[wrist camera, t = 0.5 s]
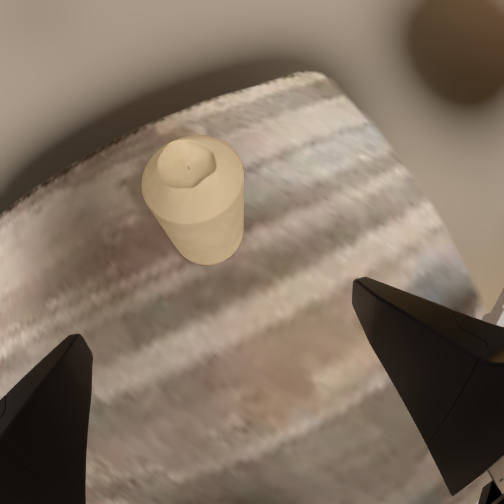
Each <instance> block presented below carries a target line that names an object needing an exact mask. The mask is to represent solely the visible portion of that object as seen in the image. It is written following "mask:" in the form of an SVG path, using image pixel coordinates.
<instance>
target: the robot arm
mask: <svg viewBox="0 0 504 504" xmlns="http://www.w3.org/2000/svg"><path fill="white" fill-rule="evenodd" d="M352 304H353V308H354V310H355V312H356V314H357V316H358V319H359V321H360V323H361V325H362V327H363V330H364V332H365V334H366V336H367V338H368V340H369V343H370V344H371V346H372V348H373V350H374V351H375V353H376V355H377V357H378V358H379V360H380V362H381V363H382V365H383V367H384V368H385V370H386V372H387V374H388V375H389V377H390V379H391V381H392V382H393V384H394V386H395V388H396V389H397V391H398V393H399V395H400V397H401V398H402V400H403V402H404V404H405V406H406V407H407V409H408V411H409V413H410V415H411V416H412V418H413V420H414V422H415V424H416V426H417V428H418V430H419V431H420V433H421V435H422V437H423V439H424V441H425V443H426V445H427V447H428V449H429V451H430V453H431V455H432V457H433V459H434V461H435V463H436V465H437V467H438V469H439V471H440V473H441V475H442V477H443V479H444V481H445V483H446V485H447V487H448V489H449V492H450V493H451V495H452V496H454V495H456V494H457V493H459V492H460V491H462V490H463V489H465V488H466V487H467V486H469V485H470V484H472V483H473V482H474V481H476V480H477V479H478V478H480V477H481V476H482V475H484V474H485V473H486V472H488V473H489V474H490V476H491V478H492V479H493V480H492V481H491V482H490V483H488V484H487V485H486V486H485V487H483V489H482V493H481V496H480V500H479V503H478V504H504V327H501V326H498V325H495V324H492V323H488V322H485V321H482V320H479V319H476V318H473V317H470V316H468V315H465V314H462V313H460V312H457V311H455V310H454V311H453V310H452V309H449V308H447V307H444V306H442V305H439V304H437V303H434V302H431V301H429V300H426V299H423V298H421V297H418V296H416V295H413V294H410V293H408V292H405V291H402V290H400V289H397V288H394V287H392V286H389V285H387V284H384V283H381V282H379V281H376V280H373V279H370V278H368V277H362V278H358V279H355V280H354V281H353V291H352ZM92 362H93V356H92V352H91V350H90V349H89V347H88V345H87V343H86V342H85V340H84V338H83V337H82V335H80V334H72V335H69V336H68V337H67V338H65V339H64V340H63V341H62V342H61V343H60V344H59V345H58V346H57V347H55V348H54V349H53V350H52V351H51V352H50V353H49V354H48V355H47V356H46V357H45V358H43V359H42V360H41V361H40V362H39V363H38V364H37V365H36V366H35V367H34V368H33V369H32V370H31V371H30V372H29V373H28V374H26V375H25V376H24V377H23V378H22V379H21V380H20V381H19V382H18V383H17V384H16V385H15V386H14V387H13V388H12V389H11V390H10V391H9V392H8V393H7V394H6V395H5V396H4V397H3V398H2V399H1V400H0V504H86V495H85V480H86V450H87V435H88V423H89V412H90V403H91V389H92Z"/></svg>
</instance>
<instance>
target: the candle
mask: <svg viewBox="0 0 504 504" xmlns="http://www.w3.org/2000/svg"><path fill="white" fill-rule="evenodd" d="M141 187H142V194H143V197H144V200H145V202H146V204H147V205H148V207H149V209H150V210H151V212H152V213H153V215H154V216H155V218H156V219H157V221H158V222H159V224H160V225H161V226H162V228H163V229H164V231H165V232H166V234H167V235H168V237H169V238H170V240H171V241H172V243H173V244H174V245H175V247H176V248H177V250H178V251H179V252H180V253H181V254H182V255H183V256H184V257H185V258H186V259H188V260H189V261H191V262H194V263H196V264H200V265H214V264H218V263H221V262H223V261H225V260H226V259H228V258H229V257H231V256H232V255H233V254H234V253H235V251H236V250H237V249H238V247H239V245H240V243H241V240H242V237H243V227H244V170H243V165H242V162H241V160H240V157H239V156H238V154H237V153H236V152H235V150H234V149H233V148H232V147H231V146H229V145H228V144H227V143H225V142H223V141H221V140H219V139H217V138H214V137H210V136H204V135H192V136H186V137H182V138H179V139H176V140H174V141H171V142H169V143H168V144H166V145H164V146H163V147H162V148H160V149H159V150H158V151H157V152H156V153H155V154H154V155H153V156H152V157H151V159H150V160H149V162H148V163H147V165H146V167H145V170H144V172H143V176H142V183H141Z"/></svg>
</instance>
